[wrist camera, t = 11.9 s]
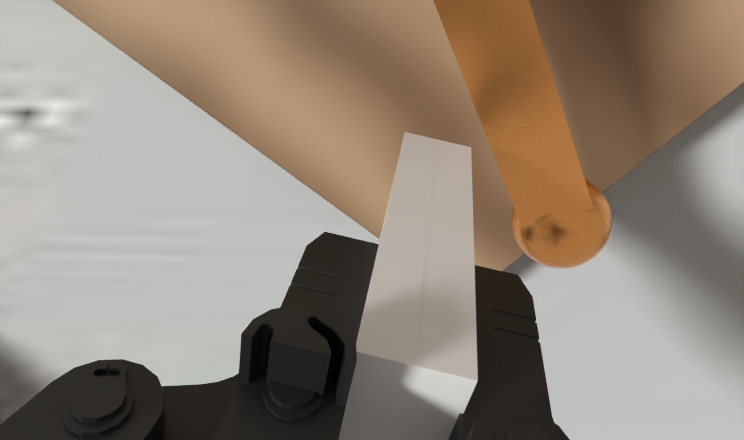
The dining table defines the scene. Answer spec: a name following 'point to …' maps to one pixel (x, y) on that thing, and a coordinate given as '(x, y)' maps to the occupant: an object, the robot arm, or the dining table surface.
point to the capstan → (527, 130)
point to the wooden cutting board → (425, 85)
